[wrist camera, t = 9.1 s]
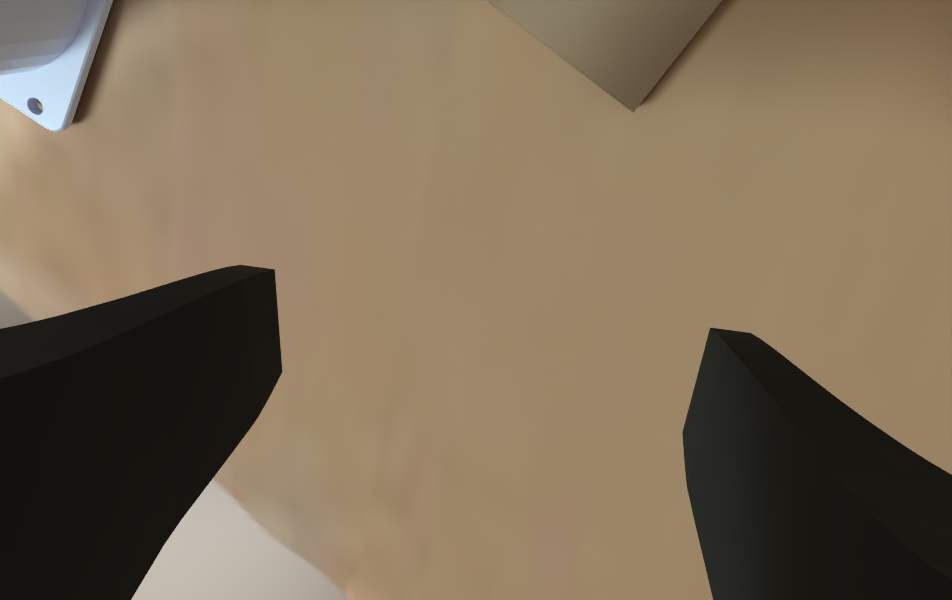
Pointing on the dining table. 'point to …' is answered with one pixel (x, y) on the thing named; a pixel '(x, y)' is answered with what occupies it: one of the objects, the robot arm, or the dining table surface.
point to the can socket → (613, 37)
